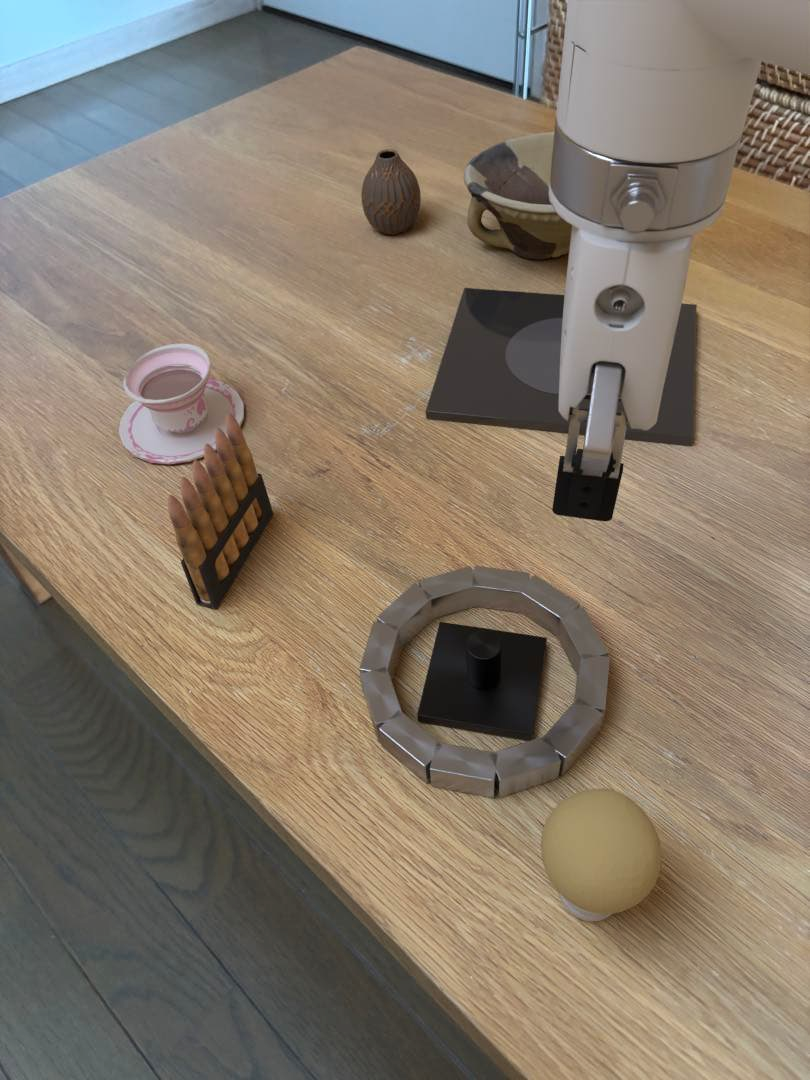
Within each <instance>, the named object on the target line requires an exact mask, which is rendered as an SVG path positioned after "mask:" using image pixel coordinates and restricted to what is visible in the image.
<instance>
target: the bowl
mask: <svg viewBox="0 0 810 1080" xmlns="http://www.w3.org/2000/svg"><path fill="white" fill-rule="evenodd" d="M554 132H555V131H549V132H548V131H547V132H539V133H533V134H528V135H524V136H520V137H514V138H511V139H507V140H504V141H502V142H500V143H497V144H494V145H492V146H490V147H488V148H487V149H485V150H483V151H481V152H479V153H478V154H477V155H476V156H474V157H472V158H471V160H470V161H469V162H467V164H466V167H465V169H464V173H463V182H464V185H465V187H466V189H467V190H468V194H470V196H471V198H470V203H469V206H468V210H467V214H466V215H467V218H466V219H467V227H468V229H469V231H470V233H471V234H472V235H473V236H474V237H475V238H476V239H478V240H479V241H481V242H483V243H485V244H488V245H490V246H493V247H497V248H502V249H507V250H510V251H511V252H513V253H514V254H516V255H517V256H519V257H521V258H525V259H530V260H546V259H550V258H552V259H554V258H558V257H560V256H563V255H566V254H569V249H570V241H571V232H572V225H571V224H570V223H568V222H566V221H565V220H564V219H563V218H562V217H560V216H559V215H558V214H557V212H556V211H555V210H554V209H553V206H552V205H551V203H550V200H549V185H550V173H551V163H552V152H553V142H554ZM485 211H488V212H490V213H491V214H492V215H493V216H494V217H495V218H496V220H497V223H498V225H499V228H498V229H491V228H489V227H486V226H485V225H484V223H483V221H482V216H483V215H484V212H485Z"/></svg>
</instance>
